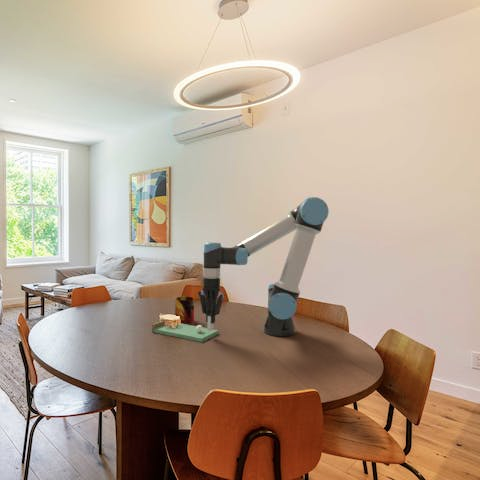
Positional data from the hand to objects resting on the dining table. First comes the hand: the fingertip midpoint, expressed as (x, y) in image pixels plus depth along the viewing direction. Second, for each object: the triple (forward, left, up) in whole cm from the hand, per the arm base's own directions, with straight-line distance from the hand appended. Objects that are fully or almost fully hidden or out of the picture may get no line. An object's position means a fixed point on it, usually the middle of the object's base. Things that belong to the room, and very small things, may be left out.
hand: (210, 329), depth 152 cm
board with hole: (+14, 0, -4) cm, 14 cm away
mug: (+25, -16, -4) cm, 30 cm away
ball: (+6, 0, 0) cm, 6 cm away
